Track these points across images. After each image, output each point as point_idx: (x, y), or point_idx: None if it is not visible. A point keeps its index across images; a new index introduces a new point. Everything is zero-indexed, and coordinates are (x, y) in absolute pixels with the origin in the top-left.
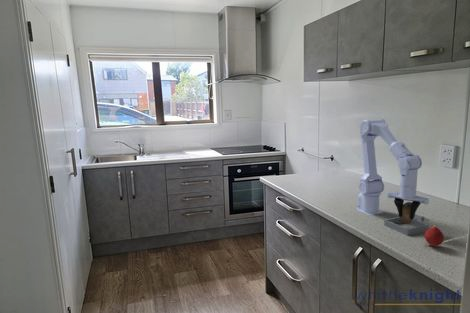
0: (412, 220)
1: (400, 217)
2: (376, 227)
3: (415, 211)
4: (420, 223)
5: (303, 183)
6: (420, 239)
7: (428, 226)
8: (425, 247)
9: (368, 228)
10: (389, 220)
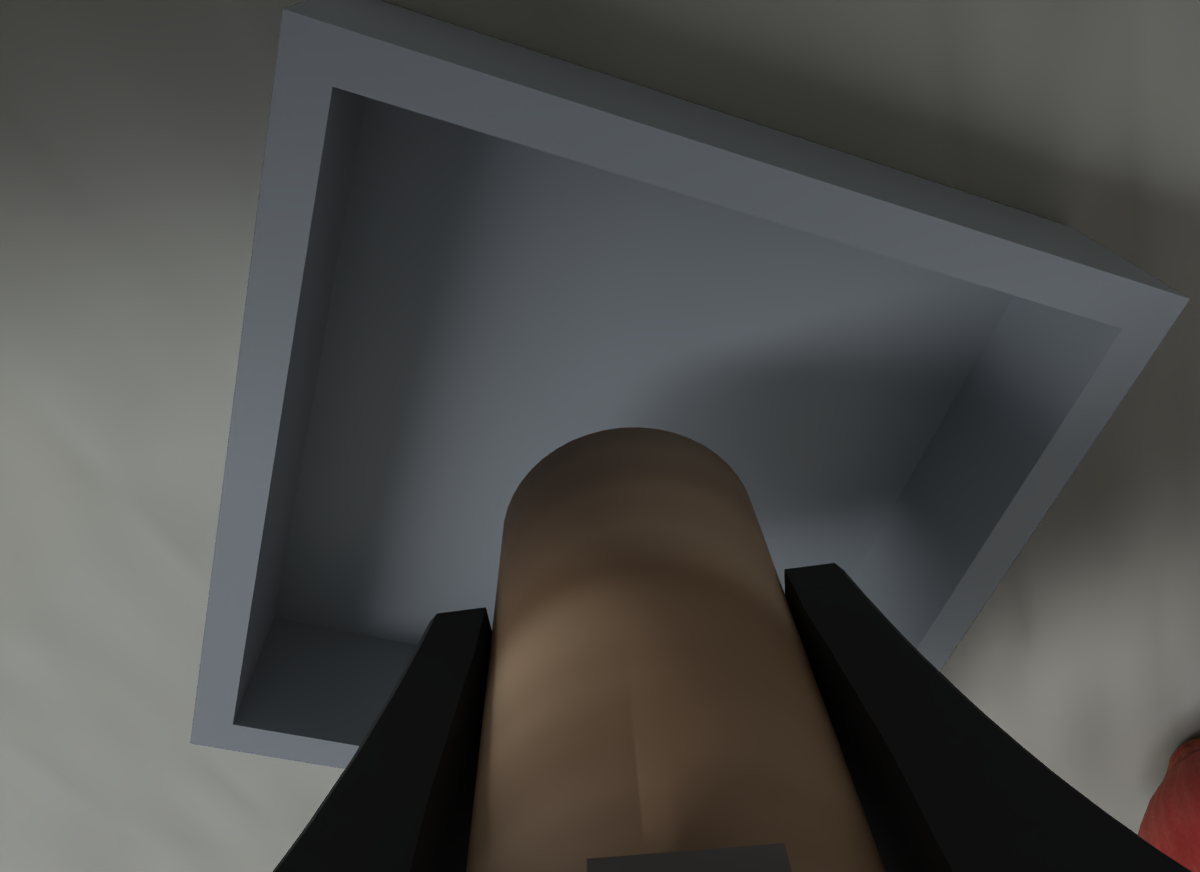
0: (667, 177)
1: (304, 281)
2: (189, 729)
3: (979, 746)
4: (938, 262)
5: None
6: (988, 662)
7: (1155, 279)
8: None
9: (148, 836)
10: (250, 633)
